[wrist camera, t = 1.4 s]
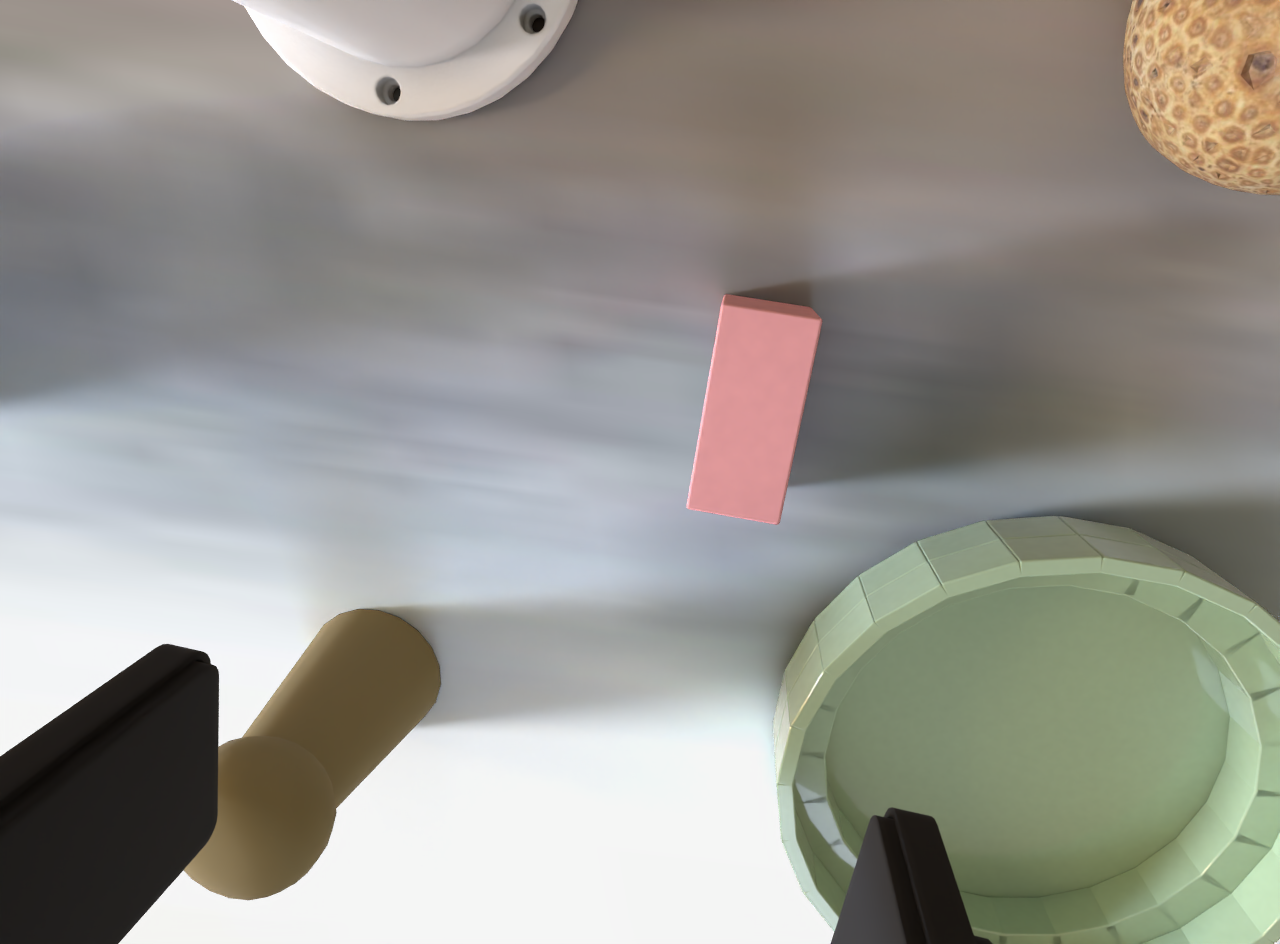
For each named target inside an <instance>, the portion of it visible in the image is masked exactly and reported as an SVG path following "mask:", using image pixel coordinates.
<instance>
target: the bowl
mask: <svg viewBox="0 0 1280 944" xmlns="http://www.w3.org/2000/svg"><path fill="white" fill-rule="evenodd" d="M773 735H774V751H775V766H776V782H777V795H778V807H779V819H780V831H781V839H782V843H783V846H784V848H785V850H786V853H787V855H788V858H789V860H790V863H791V865H792V868H793V870H794V872H795V875H796V877H797V880H798V882H799V885H800V887H801V889H802V892H803V893H804V895H805V896H806V897H807V898H808V900H809V901H810V902H811V903H812V905H813V906H814V907H815V908H816V910H817V911H818V912H819V913H820V915H821V916H822V917H823V918H824V920H825V921H826V922H827V923H828V925H829V926H830V927H831V928H832V930H833V931H834V932H835V929H836V925H837V922H838V919H839V916H840V913H841V910H842V906H843V903H844V900H845V897H846V894H847V891H848V887H849V884H850V881H851V878H852V875H853V871H854V868H855V865H856V862H857V859H858V856H859V852H860V849H861V846H862V843H863V840H864V836H865V833H866V830H867V827H868V824H869V821H870V819H871V817H872V816H873V815H877V816H881V817H884V815H885V813H886V811H887V810H888V808H891V807H893V808H897V809H902V810H906V811H911V812H915V813H919V814H924V815H928V816H932V817H933V818H934V819H935V821H936V823H937V825H938V828H939V831H940V834H941V837H942V840H943V843H944V846H945V849H946V852H947V855H948V858H949V861H950V864H951V867H952V870H953V873H954V876H955V879H956V882H957V885H958V888H959V891H960V894H961V897H962V900H963V903H964V906H965V910H966V913H967V916H968V919H969V922H970V925H971V928H972V931H973V934H974V936H978V937H982V938H987V939H989V940H990V941H991V942H992V943H993V944H1274V942H1277V941H1278V940H1279V939H1280V622H1279V621H1278V620H1277V619H1276V618H1274V617H1273V616H1272V615H1271V614H1270V613H1269V612H1267V611H1266V610H1265V609H1264V608H1263V607H1262V606H1260V605H1259V604H1258V603H1257V602H1255V601H1254V600H1252V599H1251V598H1250V597H1248V596H1247V595H1245V594H1244V593H1243V592H1241V591H1240V590H1238V589H1237V588H1236V587H1234V586H1233V585H1231V584H1230V583H1229V582H1227V581H1226V580H1224V579H1223V578H1222V577H1220V576H1219V575H1218V574H1216V573H1215V572H1213V571H1212V570H1211V569H1209V568H1208V567H1206V566H1205V565H1204V564H1202V563H1201V562H1199V561H1198V560H1197V559H1195V558H1194V557H1192V556H1191V555H1189V554H1186V553H1184V552H1182V551H1180V550H1177V549H1175V548H1173V547H1171V546H1169V545H1166V544H1164V543H1162V542H1160V541H1158V540H1155V539H1153V538H1151V537H1149V536H1146V535H1144V534H1142V533H1140V532H1138V531H1135V530H1133V529H1131V528H1126V527H1121V526H1115V525H1109V524H1103V523H1097V522H1092V521H1086V520H1080V519H1074V518H1068V517H1063V516H1058V517H1057V516H1045V517H1030V518H1015V519H999V520H987V521H986V522H985V521H981V522H977V523H974V524H971V525H968V526H964V527H961V528H958V529H954V530H951V531H948V532H945V533H941V534H938V535H935V536H931V537H928V538H925V539H921V540H918V541H917V542H914V543H913V544H911V545H909V546H907V547H906V548H904V549H902V550H901V551H899V552H897V553H896V554H894V555H892V556H890V557H889V558H887V559H885V560H884V561H882V562H880V563H878V564H877V565H875V566H873V567H872V568H870V569H868V570H867V571H865V572H863V573H861V574H860V575H859V576H857V577H856V578H855V579H854V580H853V581H852V582H851V583H850V584H849V585H848V586H847V587H846V588H845V589H844V590H843V591H842V592H841V593H840V594H839V595H838V596H837V597H836V598H835V599H834V600H833V601H832V602H831V603H830V604H829V605H828V606H827V607H826V608H825V609H824V610H823V611H822V612H821V613H820V614H819V615H818V616H817V617H816V618H815V620H814V621H813V622H812V624H811V625H810V627H809V629H808V631H807V632H806V634H805V636H804V638H803V639H802V641H801V643H800V645H799V646H798V648H797V650H796V652H795V653H794V655H793V657H792V659H791V660H790V662H789V664H788V666H787V667H786V670H785V671H784V676H783V680H782V684H781V689H780V693H779V697H778V702H777V706H776V711H775V715H774V719H773Z"/></svg>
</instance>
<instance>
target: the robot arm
mask: <svg viewBox="0 0 1280 944" xmlns="http://www.w3.org/2000/svg"><path fill="white" fill-rule="evenodd" d="M233 1H235V2H237V3H239V4H241V5H243V6H245V8H246V10H247V11H248V13H249V14H250V16H251V18H252V19H253V21H254V23H255V24H256V26H257V27H258V29H259V31H260V32H261V34H262V36H263V37H264V38H265V39H266V40H267V41H268V43H269V44H270V45H271V46H272V47H273V48H274V50H275V51H276V52H277V53H278V54H279V55H280V56H281V58H282V59H283V60H284V61H285V62H286V63H287V65H289V66H290V67H291V68H292V69H293V70H295V71H296V72H297V73H298V74H300V75H301V76H302V77H303V78H304V79H306V80H307V81H308V82H309V83H311V84H312V85H313V86H314V87H316V88H317V89H319V90H321V91H323V92H324V93H326V94H328V95H330V96H332V97H334V98H335V99H337V100H339V101H341V102H343V103H345V104H346V105H349V106H352V107H355V108H357V109H360V110H363V111H366V112H369V113H372V114H375V115H380V116H385V117H390V118H395V119H400V120H405V121H418V120H442V119H446V118H450V117H454V116H459V115H463V114H467V113H471V112H473V111H475V110H477V109H479V108H481V107H483V106H486V105H488V104H490V103H492V102H494V101H496V100H498V99H500V98H502V97H503V96H504V95H506V94H507V93H508V92H510V91H511V90H512V89H514V88H515V87H516V86H517V85H519V84H520V83H521V82H523V81H524V80H525V79H527V78H528V77H529V76H530V75H531V74H532V72H533V71H534V70H535V69H536V68H537V67H538V66H539V64H540V63H541V62H542V61H543V60H544V59H545V58H546V56H547V55H548V54H549V53H550V52H551V51H552V50H553V48H554V46H555V45H556V43H557V41H558V40H559V38H560V36H561V35H562V33H563V31H564V29H565V28H566V26H567V24H568V23H569V21H570V19H571V18H572V16H573V13H574V10H575V8H576V5H577V2H578V0H233ZM540 17H541V18H543V19H544V22H545V25H544V28H543V29H542V30H541V31H540V32H534V31H533V28H532V24H533V21H534V20H535V19H536V18H540ZM398 87H400V90H401V94H400V98H399V100H398V101H397V102H396V101H395V100H394V98H393V92H394V90H395V89H396V88H398ZM218 717H219V673H218V669H217V667H216V666H214V665H211V663H210V658H209V656H208V654H206V653H204V652H202V651H197V650H193V649H188V648H184V647H179V646H175V645H171V644H163V645H161V646H159V647H157V648H155V649H154V650H152V651H151V652H149V653H148V654H146V655H145V656H144V657H142V658H141V659H139V660H138V661H136V662H135V663H134V664H132V665H131V666H129V667H128V668H126V669H125V670H123V671H122V672H121V673H119V674H118V675H116V676H115V677H113V678H112V679H111V680H109V681H108V682H106V683H105V684H103V685H102V686H101V687H99V688H98V689H96V690H95V691H93V692H92V693H91V694H89V695H88V696H86V697H85V698H83V699H82V700H80V701H79V702H78V703H76V704H75V705H73V706H72V707H70V708H69V709H68V710H66V711H65V712H63V713H62V714H60V715H59V716H58V717H56V718H55V719H53V720H52V721H50V722H49V723H48V724H46V725H45V726H43V727H42V728H40V729H39V730H37V731H36V732H35V733H33V734H32V735H30V736H29V737H27V738H26V739H25V740H23V741H22V742H20V743H19V744H17V745H16V746H15V747H13V748H12V749H10V750H9V751H7V752H6V753H5V754H3V755H2V756H0V944H118V943H119V942H120V941H121V940H122V939H123V938H124V936H125V935H126V934H127V933H128V932H129V931H130V930H131V929H132V927H133V926H134V925H135V924H136V923H137V922H138V921H139V920H140V918H141V917H142V916H143V915H144V914H145V913H146V912H147V911H148V909H149V908H150V907H151V906H152V905H153V904H154V903H155V902H156V900H157V899H158V898H159V897H160V896H161V895H162V894H163V892H164V891H165V890H166V889H167V888H168V887H169V886H170V885H171V883H172V882H173V881H174V880H175V879H176V878H177V877H178V876H179V874H180V873H181V872H182V871H183V870H184V869H185V868H186V867H187V865H188V864H189V863H190V862H191V861H192V860H193V859H194V857H195V856H196V855H197V854H198V853H199V852H200V851H201V850H202V848H203V847H204V846H205V845H206V844H207V842H208V841H209V839H210V837H211V836H212V834H213V831H214V829H215V826H216V823H217V816H218ZM831 944H993V943H992V942H991V941H990V940H989V939H987V938H982V937H978V936H974V934H973V931H972V928H971V925H970V922H969V919H968V916H967V913H966V910H965V906H964V903H963V900H962V897H961V894H960V891H959V888H958V885H957V882H956V879H955V876H954V873H953V870H952V867H951V864H950V861H949V858H948V855H947V852H946V849H945V846H944V843H943V840H942V837H941V834H940V831H939V828H938V825H937V823H936V821H935V819H934V818H933V817H932V816H928V815H924V814H919V813H915V812H911V811H906V810H902V809H897V808H893V807H891V808H888V810H887V811H886V813H885V815H884V817H881V816H877V815H873V816H872V817H871V819H870V821H869V824H868V827H867V830H866V833H865V836H864V840H863V843H862V846H861V849H860V852H859V856H858V859H857V862H856V865H855V868H854V871H853V875H852V878H851V881H850V884H849V887H848V891H847V894H846V897H845V900H844V903H843V906H842V910H841V913H840V916H839V919H838V922H837V925H836V929H835V932H834V935H833V938H832V941H831Z"/></svg>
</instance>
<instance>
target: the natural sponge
mask: <svg viewBox="0 0 1280 944" xmlns="http://www.w3.org/2000/svg"><path fill="white" fill-rule="evenodd" d="M1123 67H1124V82H1125V92H1126V95H1127V99H1128V102H1129V105H1130V108H1131V111H1132V114H1133V117H1134V119H1135V121H1136V123H1137V125H1138V127H1139V129H1140V131H1141V133H1142V134H1143V136H1144V137H1145V139H1146V140H1147V141H1148V142H1149V143H1150V144H1151V146H1152V147H1153V148H1155V149H1156V150H1157V151H1158V152H1159V153H1161V154H1162V155H1163V156H1164V157H1166V158H1167V159H1168V160H1170V161H1171V162H1172V163H1174V164H1175V165H1176V166H1178V167H1179V168H1180V169H1182V170H1183V171H1185V172H1187V173H1189V174H1191V175H1193V176H1196V177H1198V178H1201V179H1203V180H1205V181H1207V182H1209V183H1211V184H1214V185H1217V186H1221V187H1224V188H1228V189H1231V190H1236V191H1243V192H1249V193H1255V194H1263V195H1280V0H1133V2H1132V6H1131V9H1130V13H1129V16H1128V20H1127V26H1126V32H1125V42H1124V52H1123Z"/></svg>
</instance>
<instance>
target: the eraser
mask: <svg viewBox="0 0 1280 944" xmlns="http://www.w3.org/2000/svg"><path fill="white" fill-rule="evenodd" d="M821 326H822V319H821V318H820V317H819V316H818V315H817V313H816V312H815V311H814V310H813V309H812V308H810V307H806V306H799V305H793V304H787V303H780V302H774V301H767V300H761V299H755V298H748V297H742V296H736V295H729V294H725V295H724V297H723V301H722V304H721V309H720V315H719V321H718V327H717V332H716V338H715V344H714V350H713V356H712V361H711V367H710V373H709V379H708V385H707V390H706V396H705V402H704V408H703V414H702V419H701V425H700V431H699V437H698V442H697V448H696V454H695V460H694V466H693V471H692V477H691V483H690V489H689V495H688V500H687V508H688V509H692V510H697V511H703V512H708V513H714V514H720V515H725V516H731V517H736V518H742V519H748V520H753V521H759V522H765V523H770V524H776V525H777V524H779V523H780V519H781V514H782V509H783V505H784V500H785V495H786V491H787V486H788V481H789V476H790V472H791V467H792V462H793V458H794V453H795V448H796V444H797V439H798V434H799V429H800V425H801V420H802V415H803V411H804V406H805V401H806V396H807V392H808V387H809V382H810V378H811V373H812V368H813V364H814V359H815V354H816V349H817V345H818V340H819V335H820V331H821Z"/></svg>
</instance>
